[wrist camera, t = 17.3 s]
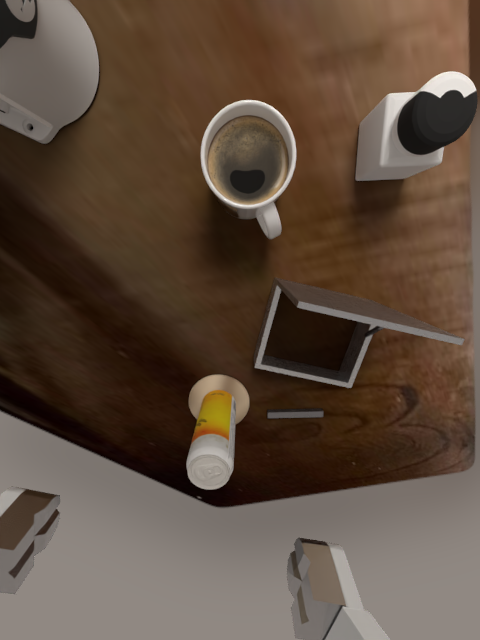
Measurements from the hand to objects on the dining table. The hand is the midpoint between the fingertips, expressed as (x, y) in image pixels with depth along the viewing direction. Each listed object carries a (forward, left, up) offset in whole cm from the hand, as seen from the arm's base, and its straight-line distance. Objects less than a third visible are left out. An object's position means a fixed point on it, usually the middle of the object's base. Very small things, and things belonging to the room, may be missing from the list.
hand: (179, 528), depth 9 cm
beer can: (+2, -18, -34) cm, 38 cm away
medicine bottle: (+16, +26, -34) cm, 46 cm away
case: (+14, -1, -34) cm, 37 cm away
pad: (+2, -18, -34) cm, 39 cm away
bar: (+16, -17, -34) cm, 42 cm away
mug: (-1, +17, -34) cm, 38 cm away
